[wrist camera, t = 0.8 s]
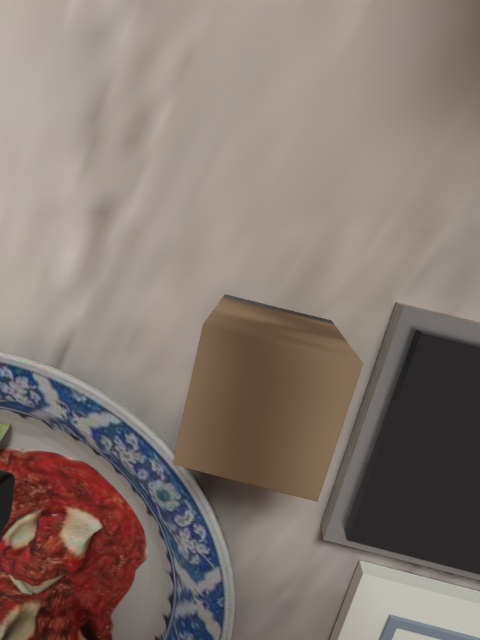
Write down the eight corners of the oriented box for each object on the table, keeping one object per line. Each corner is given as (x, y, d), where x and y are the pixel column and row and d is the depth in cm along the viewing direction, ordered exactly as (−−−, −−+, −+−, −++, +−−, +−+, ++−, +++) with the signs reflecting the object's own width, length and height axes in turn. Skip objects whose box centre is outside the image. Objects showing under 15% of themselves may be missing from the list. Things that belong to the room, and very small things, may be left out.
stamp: (331, 320, 17) (363, 363, 11) (301, 417, 18) (317, 501, 13) (225, 294, 17) (203, 323, 12) (202, 392, 19) (172, 464, 13)
